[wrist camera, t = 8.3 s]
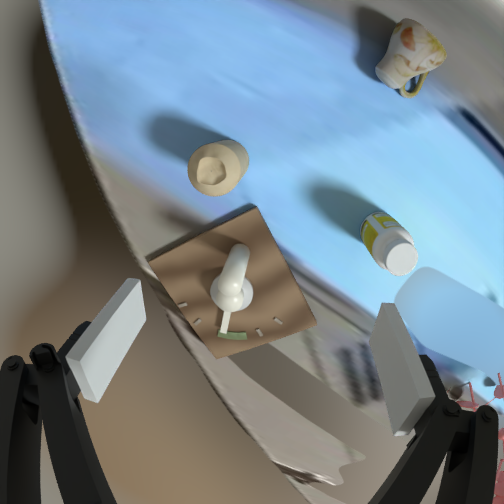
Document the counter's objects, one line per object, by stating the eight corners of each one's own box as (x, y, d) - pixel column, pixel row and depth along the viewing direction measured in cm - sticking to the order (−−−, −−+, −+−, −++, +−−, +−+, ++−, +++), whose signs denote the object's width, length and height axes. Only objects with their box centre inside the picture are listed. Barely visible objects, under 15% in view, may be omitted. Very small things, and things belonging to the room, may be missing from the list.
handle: (220, 238, 41) (203, 268, 32) (264, 248, 41) (259, 282, 32) (205, 325, 47) (190, 364, 38) (242, 334, 47) (234, 375, 38)
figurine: (439, 388, 51) (485, 528, 19) (522, 361, 47) (578, 466, 15) (423, 426, 57) (451, 545, 25) (501, 400, 53) (541, 498, 22)
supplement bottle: (371, 255, 41) (392, 290, 32) (352, 225, 40) (370, 255, 31) (402, 234, 39) (430, 264, 30) (384, 203, 38) (411, 226, 29)
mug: (354, 72, 32) (382, 20, 22) (389, 47, 33) (417, 3, 23) (399, 112, 32) (439, 68, 22) (428, 82, 33) (464, 43, 23)
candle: (220, 189, 39) (201, 209, 30) (199, 153, 38) (173, 162, 29) (257, 168, 38) (249, 182, 29) (235, 131, 36) (220, 133, 27)
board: (150, 259, 45) (147, 263, 43) (256, 206, 40) (256, 208, 39) (217, 355, 51) (216, 360, 50) (316, 321, 46) (317, 325, 45)
